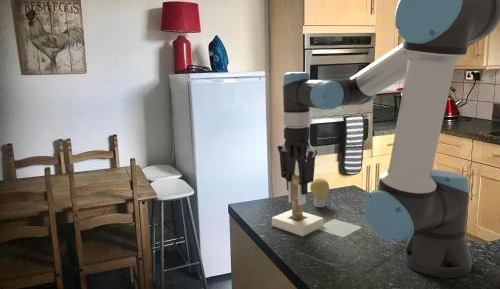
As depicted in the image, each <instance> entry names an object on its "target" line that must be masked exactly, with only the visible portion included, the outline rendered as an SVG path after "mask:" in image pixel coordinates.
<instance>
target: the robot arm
mask: <svg viewBox="0 0 500 289" xmlns="http://www.w3.org/2000/svg"><path fill="white" fill-rule="evenodd" d="M499 22H500V0H399V1H398V3H397V6H396V9H395V12H394V25H395V28H396V29H397V30H398V31H397V33H398V35H399V36H400V37H401V38H402V39H403V40H402V43H400V44H399V45H397V46H396V47H394V48H393V49H391V50H390V51H388V52H387V53H385V54H384V55H383V56H381V57H379V58H378V59H376V60H375V61H373V62H372V63H370V64H369V65H367V66H366V67H364V68H363V69H361V70H360V71H359V72H357V73H355V74H354V75H352V76H350V77H347V78H345V77H344V78H336V79H335V78H334V79H333V78H332V79H311V78H310V74H309V72H307V71H292V72H291V71H290V72H286V73H284V75H283V83H282V84H283V85H282V95H283V96H282V101H283V104H282V105H283V126H284V127H283V138H284V140H285V141H284V144H281V145H278V146H277V151H278V153H279V165H280V174H281V176H280V177H281V178H283V179H285V181H286V191H287V192H288V193H287V194H288V203H290V204H292V174H296V173H295V172H296V165H297V168H298V174H299V177H300V183H299V184H298V205H305V204H307V194H308V192H309V191H308V184H311V183H312V182H313V180H315V178H314V176H315V166H316V161H315V160H316V156H317V154H318V151H317V149H313V148H311V147H310V142H309V140H310V138H311V136H310V134H311V132H310V131H311V128H310V127H309V125H310V122H311V121H310V120H311V119H310V110H311V108H313V109H318V110H319V109H320V110H323V111H326V110H328V111H330V110H335V109H337V108H338V107H346V106H355V105H364V104H368V103H370V102H372V101H374V99H375V97H376V96H377V94H378V93H380V92H382V91H384V90H386V89H388V88H389V87H391V86H392V85H394V84H396V83H398V82H400V81H401V80H403V79H404V80H403V85H402V86H403V88H402V92H401V99H400V104H399V109H398V115H397V121H396V126H395V131H394V132H395V133H394V137H393V138H394V139H393V142H392V148H391V154H390V160H389V164H388V165H389V166H388V168H387V169H385V170H383V171H382V172H381V173H380V174H379V180H378V186H377V189H374V190H372V191H371V192H370V193H368V195H366V198H365V200H364V202H363V203H364V205H363V211H364V216H365V219H366V221H367V223H368V224H369V226H370V228H371V229H372V231H373V232H374V233H375V234H376V235H377V236H378V237H380V238H381V239H383V240H384V241H388V242H392V243H397V242H402V241H407V240H408V241H407V242H406V245H405V248H404V250H403V252H404V253H403V260H404V263H405V265H407V266H408V267H409V268H411V269H412V270H414V271H415V272H417V273H421V274H423V275H426V276H430V277H434V278H435V277H436V278H443V279H454V278H461V277H465V276H467V275H469V273H471V271H472V264H473V260H472V256H471V252H470V249H469V247H468V246H469V245H468V243H467V239H466V228H467V218H468V204H469V194H470V191H469V185H470V184H469V180H468V178H467V176H465V175H462V174H461V173H457V172H456V173H455V172H452V171H447V170H439V169H433V168H434V163H435V160H436V154H437V150H438V145H439V140H440V136H441V130H442V127H443V122H444V117H445V113H446V108H447V102H448V99H449V95H450V89H451V85H452V80H453V76H454V71H455V65H456V63H457V62H459V61H460V60H461V59H463V58H464V57H466V55H467V51H468V48H469V47H471V46H472V45H474V44H476V43H478V42H480V41H482V40H484V39H485V38H486V37H487V36H489V35H490V34H491V33H492V32H494V30H495V29H496V28H497V26H498V24H499ZM296 162H297V164H296Z"/></svg>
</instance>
